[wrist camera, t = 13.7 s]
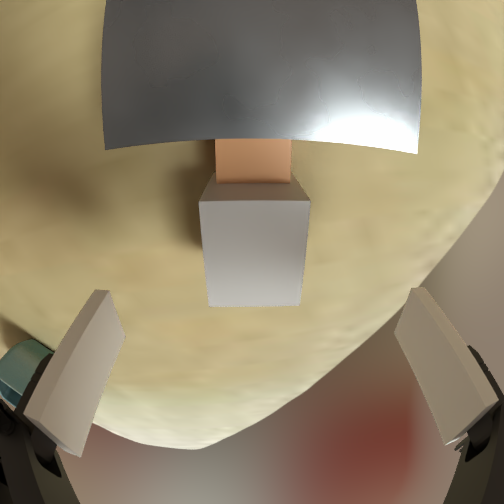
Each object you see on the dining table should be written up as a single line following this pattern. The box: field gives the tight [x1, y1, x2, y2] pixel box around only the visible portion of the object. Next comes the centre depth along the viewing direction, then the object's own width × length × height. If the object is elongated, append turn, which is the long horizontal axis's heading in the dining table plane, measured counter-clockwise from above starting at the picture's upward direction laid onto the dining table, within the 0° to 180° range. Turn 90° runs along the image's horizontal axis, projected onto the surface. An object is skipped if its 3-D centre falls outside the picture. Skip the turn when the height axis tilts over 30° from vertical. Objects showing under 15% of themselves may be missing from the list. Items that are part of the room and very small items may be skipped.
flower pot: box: [0, 339, 54, 407], centre depth 24 cm, size 9×9×9 cm
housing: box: [101, 0, 422, 154], centre depth 9 cm, size 8×10×10 cm
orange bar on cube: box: [199, 139, 311, 307], centre depth 12 cm, size 22×5×6 cm, turn 0°
